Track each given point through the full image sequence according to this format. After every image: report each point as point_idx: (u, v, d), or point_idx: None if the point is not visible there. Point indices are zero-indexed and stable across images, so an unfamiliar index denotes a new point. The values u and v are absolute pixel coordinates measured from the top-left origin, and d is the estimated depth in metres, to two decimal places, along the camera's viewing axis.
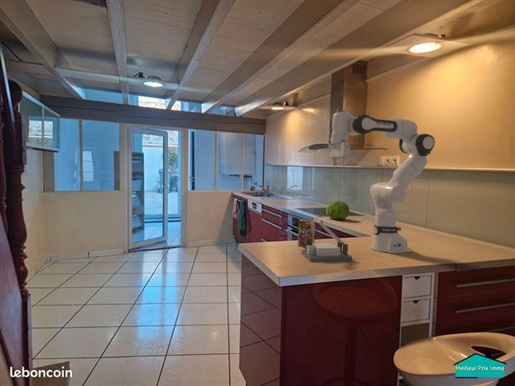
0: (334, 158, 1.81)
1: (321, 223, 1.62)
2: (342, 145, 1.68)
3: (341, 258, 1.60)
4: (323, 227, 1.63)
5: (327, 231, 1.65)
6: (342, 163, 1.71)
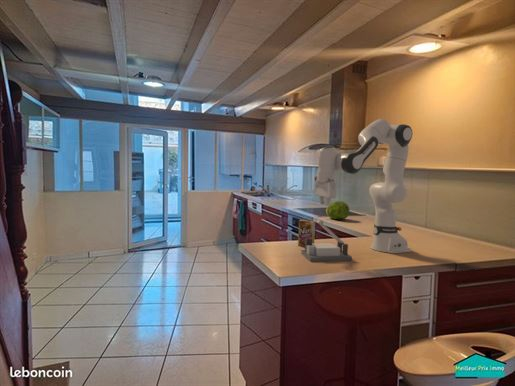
0: (321, 196, 1.67)
1: (321, 223, 1.62)
2: (328, 185, 1.54)
3: (341, 258, 1.60)
4: (323, 227, 1.63)
5: (327, 231, 1.65)
6: (327, 203, 1.59)
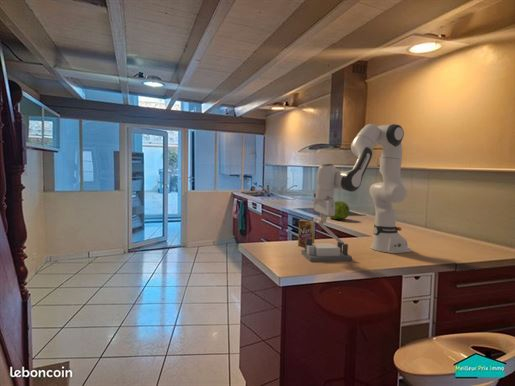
0: (322, 214, 1.65)
1: (321, 223, 1.62)
2: (327, 203, 1.55)
3: (341, 258, 1.60)
4: (323, 227, 1.63)
5: (327, 231, 1.65)
6: (324, 220, 1.63)
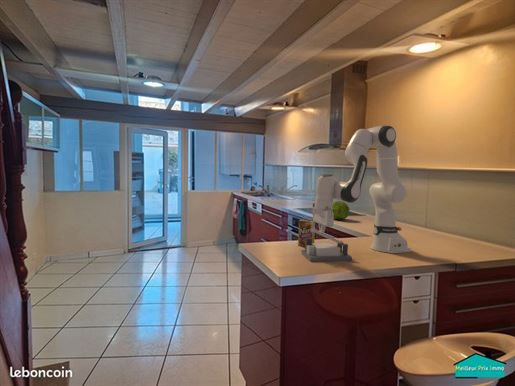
0: (321, 224, 1.65)
1: (316, 231, 1.62)
2: (325, 214, 1.55)
3: (341, 258, 1.60)
4: (319, 234, 1.63)
5: None
6: (322, 230, 1.63)
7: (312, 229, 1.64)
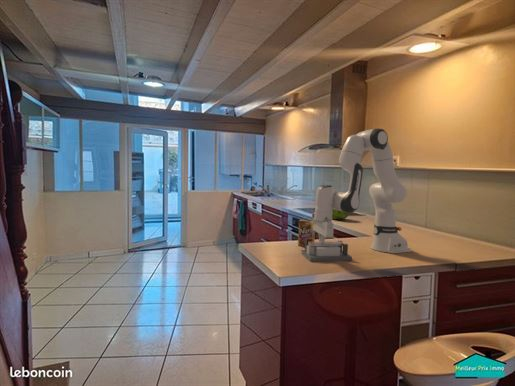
0: (321, 234, 1.66)
1: (312, 244, 1.62)
2: (325, 225, 1.56)
3: (341, 258, 1.60)
4: (317, 245, 1.63)
5: None
6: (322, 241, 1.63)
7: (308, 243, 1.64)
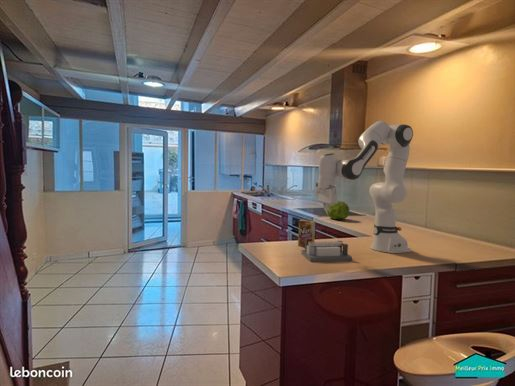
0: (325, 202, 1.68)
1: (312, 244, 1.62)
2: (329, 192, 1.58)
3: (341, 258, 1.60)
4: (317, 245, 1.63)
5: None
6: (327, 208, 1.66)
7: (308, 243, 1.64)
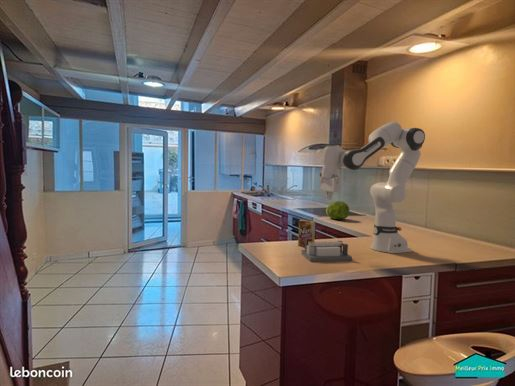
0: (328, 191, 1.76)
1: (312, 244, 1.62)
2: (332, 180, 1.66)
3: (341, 258, 1.60)
4: (317, 245, 1.63)
5: None
6: (330, 197, 1.74)
7: (308, 243, 1.64)
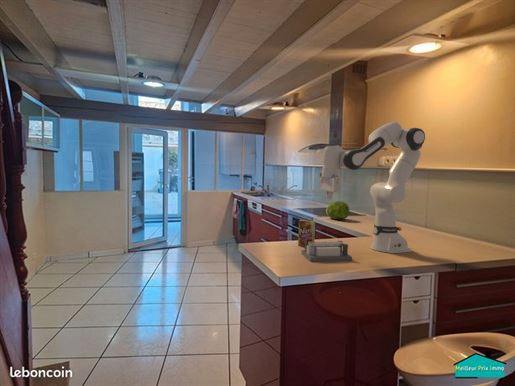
0: (328, 191, 1.76)
1: (312, 244, 1.62)
2: (332, 180, 1.66)
3: (341, 258, 1.60)
4: (317, 245, 1.63)
5: None
6: (330, 197, 1.74)
7: (308, 243, 1.64)
